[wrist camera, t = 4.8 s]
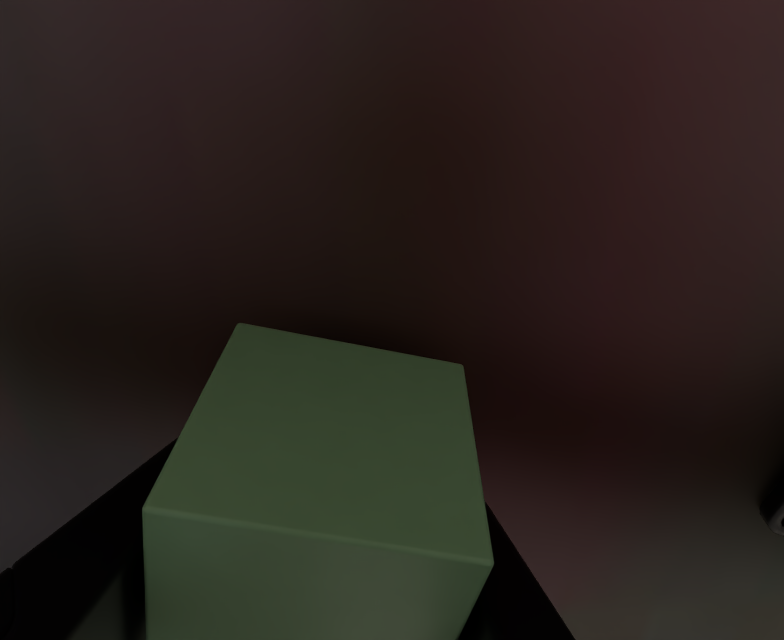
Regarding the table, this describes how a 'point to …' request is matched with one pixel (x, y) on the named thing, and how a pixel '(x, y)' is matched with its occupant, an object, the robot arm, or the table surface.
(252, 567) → the block
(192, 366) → the table surface
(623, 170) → the table surface
